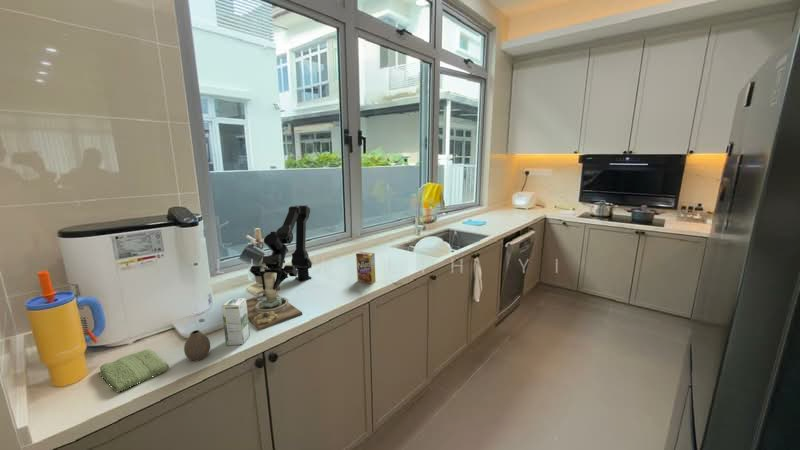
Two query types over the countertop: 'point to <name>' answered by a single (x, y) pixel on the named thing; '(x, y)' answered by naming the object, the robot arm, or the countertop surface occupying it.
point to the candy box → (365, 267)
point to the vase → (197, 346)
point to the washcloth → (132, 369)
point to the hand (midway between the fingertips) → (268, 289)
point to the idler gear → (270, 291)
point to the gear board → (269, 312)
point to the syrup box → (235, 321)
